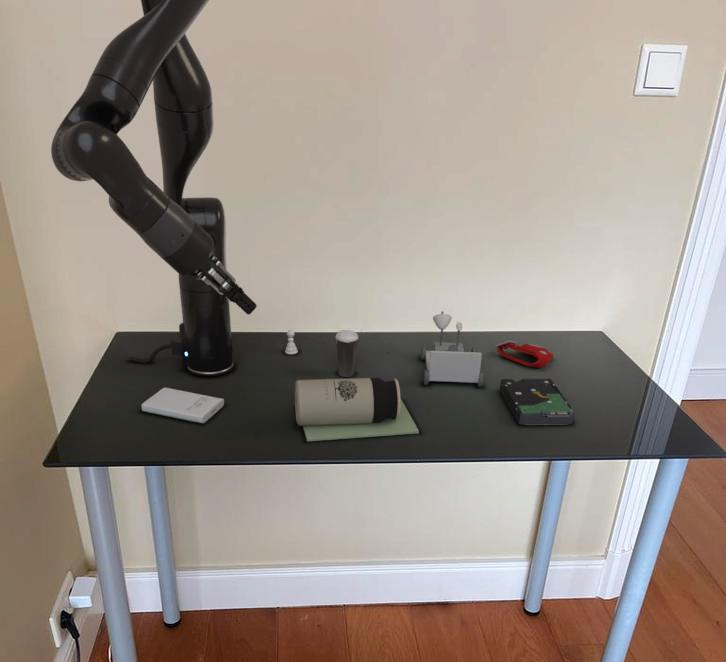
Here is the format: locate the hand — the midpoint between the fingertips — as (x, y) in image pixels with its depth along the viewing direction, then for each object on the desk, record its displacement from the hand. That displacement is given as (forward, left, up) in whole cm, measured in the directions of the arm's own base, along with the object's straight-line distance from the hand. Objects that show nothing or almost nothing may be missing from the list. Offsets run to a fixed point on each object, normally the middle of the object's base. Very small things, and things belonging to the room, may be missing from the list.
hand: (251, 309), depth 126 cm
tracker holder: (+42, +47, -21) cm, 66 cm away
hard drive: (-14, -1, -21) cm, 25 cm away
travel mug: (+7, +1, -16) cm, 18 cm away
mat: (+17, +7, -21) cm, 28 cm away
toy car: (+28, +35, -21) cm, 50 cm away
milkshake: (+9, +25, -21) cm, 34 cm away
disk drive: (+47, +24, -21) cm, 57 cm away
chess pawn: (-6, +31, -21) cm, 38 cm away
